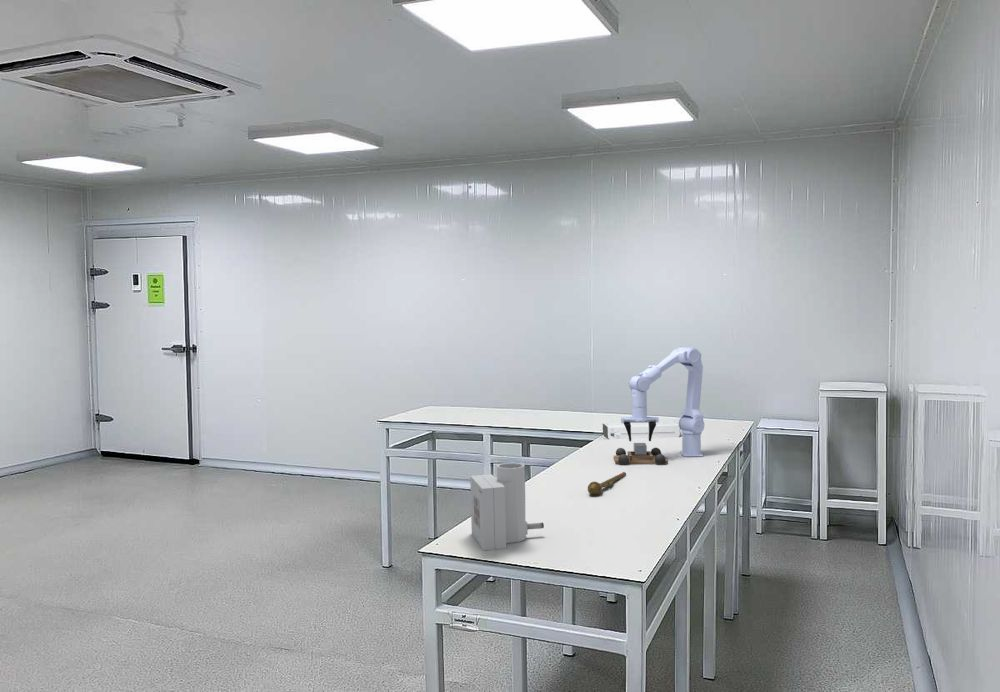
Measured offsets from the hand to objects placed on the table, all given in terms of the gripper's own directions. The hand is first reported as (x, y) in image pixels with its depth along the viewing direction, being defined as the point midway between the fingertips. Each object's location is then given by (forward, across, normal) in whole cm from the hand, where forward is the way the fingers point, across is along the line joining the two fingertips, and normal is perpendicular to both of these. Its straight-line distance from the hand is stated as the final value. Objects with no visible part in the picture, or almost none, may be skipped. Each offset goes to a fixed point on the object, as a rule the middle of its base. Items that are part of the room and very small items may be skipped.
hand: (640, 440), depth 322 cm
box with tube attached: (+8, -46, -105) cm, 115 cm away
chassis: (+8, 0, 0) cm, 8 cm away
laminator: (+9, +6, +58) cm, 60 cm away
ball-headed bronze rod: (+8, -15, -42) cm, 45 cm away
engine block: (+7, 0, 0) cm, 7 cm away
